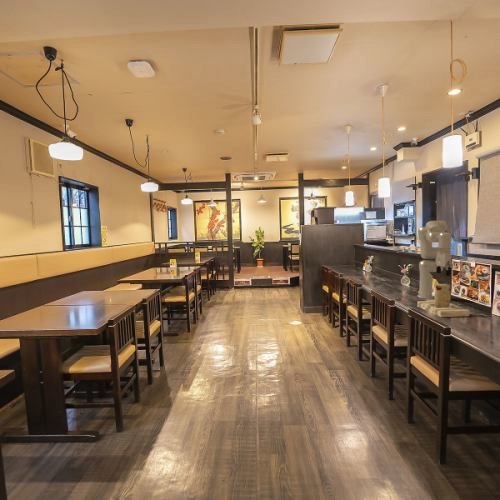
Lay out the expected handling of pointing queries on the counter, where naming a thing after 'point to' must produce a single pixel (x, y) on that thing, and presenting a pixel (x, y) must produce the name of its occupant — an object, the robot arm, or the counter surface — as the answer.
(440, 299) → the food model
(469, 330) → the counter surface
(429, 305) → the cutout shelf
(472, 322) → the counter surface
